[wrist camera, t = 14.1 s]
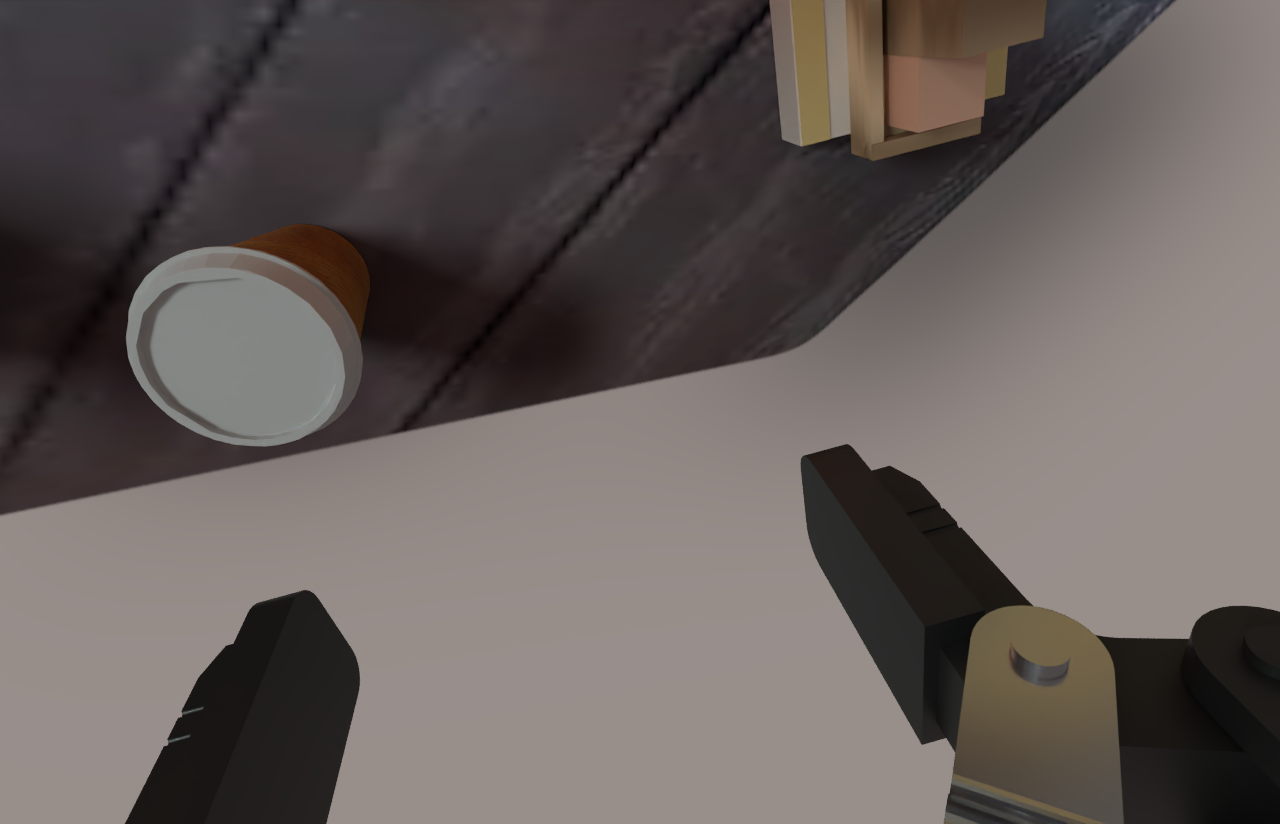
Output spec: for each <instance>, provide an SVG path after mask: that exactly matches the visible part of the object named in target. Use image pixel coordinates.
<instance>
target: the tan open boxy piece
mask: <svg viewBox="0 0 1280 824" xmlns="http://www.w3.org/2000/svg"><path fill="white" fill-rule="evenodd" d="M845 4H846V29H847V54H848V79H849V104H850V129H851V153H852V154H855V155H858V156H860V157H863V158H866V159H869V160H872V161H875V160H879V159H883V158H887V157H891V156H895V155H899V154H903V153H906V152H910V151H914V150H918V149H922V148H926V147H930V146H933V145H937V144H941V143H945V142H949V141H953V140H957V139H961V138H964V137H968V136H972V135H976V134H980V133H981V117H978V118H974V119H970V120H966V121H962V122H958V123H955V124H951V125H947V126H943V127H939V128H935V129H931V130H927V131H923V132H920V133H917V132H913V131H908V130H904V129H900V128H896V127H891V126H887V125H885V69H884V55H898V56H921V57H944V58H965V57H969V56H973V55H977V54H981V53H985V52H989V51H993V50H997V49H1001V48H1004V47H1008V46H1012V45H1016V44H1020V43H1024V42H1028V41H1032V40H1036V39H1040V38H1043V35H1044V25H1045V15H1046V4H1047V0H845Z"/></svg>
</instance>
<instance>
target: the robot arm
mask: <svg viewBox="0 0 1280 824" xmlns="http://www.w3.org/2000/svg"><path fill="white" fill-rule="evenodd" d="M801 474H802V484H803V494H804V503H805V512H806V522H807V530H808V535H809V539H810V542H811V545H812V549H813V552H814V554H815V557H816V559H817V561H818V563H819V565H820V567H821V569H822V570H823V572H824V574H825V576H826V577H827V579H828V580H829V583H830V584H831V586H832V588H833V589H834V591H835V593H836V595H837V597H838V599H839V600H840V602H841V604H842V606H843V607H844V609H845V611H846V613H847V614H848V616H849V618H850V620H851V621H852V623H853V625H854V627H855V628H856V630H857V632H858V634H859V635H860V637H861V639H862V640H863V642H864V644H865V646H866V647H867V649H868V651H869V653H870V655H871V656H872V658H873V660H874V662H875V663H876V665H877V667H878V669H879V670H880V672H881V674H882V676H883V677H884V679H885V681H886V683H887V684H888V686H889V688H890V690H891V691H892V693H893V695H894V697H895V698H896V700H897V702H898V704H899V705H900V707H901V709H902V711H903V712H904V714H905V716H906V718H907V719H908V721H909V723H910V725H911V726H912V728H913V730H914V732H915V733H916V735H917V737H918V739H919V741H920V742H921V744H922V745H923V744H926V743H930V742H934V741H937V740H940V739H944V738H947V740H948V741H949V743H950V745H951V746H952V748H953V749H954V751H955V760H954V767H953V775H952V783H951V789H950V793H949V795H948V799H947V805H946V811H945V818H944V824H1280V612H1278V611H1275V610H1271V609H1265V608H1260V607H1251V606H1229V607H1222V608H1218V609H1215V610H1212V611H1209V612H1208V613H1206V614H1204V615H1202V616H1201V617H1200V618H1199V619H1198V620H1197V621H1196V623H1195V625H1194V627H1193V629H1192V632H1191V636H1190V638H1189V639H1149V638H1147V639H1145V638H1143V639H1142V638H1111V637H1103V636H1097V635H1094V634H1093V633H1092V632H1091V631H1090V630H1089V629H1087V628H1086V627H1085V626H1083V625H1082V624H1080V623H1079V622H1077V621H1075V620H1074V619H1071V618H1070V617H1068V616H1065V615H1063V614H1061V613H1058V612H1055V611H1053V610H1049V609H1045V608H1041V607H1034V606H1033V605H1032V604H1031V603H1030V602H1029V601H1028V600H1026V598H1025V597H1024V596H1023V595H1022V594H1021V593H1020V592H1019V591H1018V590H1017V588H1016V587H1015V586H1014V585H1013V584H1012V583H1011V582H1010V581H1009V580H1008V578H1007V577H1006V576H1005V575H1004V574H1003V573H1002V572H1001V571H1000V570H999V569H998V567H997V566H996V565H995V564H994V563H993V562H992V561H991V560H990V559H989V558H988V556H987V555H986V554H985V553H984V552H983V551H982V550H981V549H980V548H979V546H978V545H977V544H976V543H975V542H974V541H973V540H972V539H971V538H970V536H969V535H968V534H967V533H966V532H965V531H964V530H963V529H962V528H959V527H958V526H957V522H956V521H955V520H954V519H953V518H952V517H951V515H950V514H949V513H948V512H947V511H946V510H945V509H944V508H943V509H942V508H941V506H940V503H939V502H938V501H937V500H936V499H935V498H934V497H933V496H932V495H931V493H930V492H929V491H928V490H927V489H926V488H925V487H924V486H923V485H922V483H921V482H920V481H918V480H916V479H914V478H912V477H910V476H908V475H906V474H904V473H902V472H901V471H899V470H897V469H895V468H893V467H891V466H887V467H883V468H880V469H877V470H873V471H871V470H870V468H869V467H868V466H867V465H866V463H865V462H864V461H863V460H862V459H861V457H860V456H859V455H858V454H857V452H856V451H855V450H854V449H853V448H852V447H851V446H850V445H848V444H845V445H842V446H838V447H834V448H831V449H827V450H823V451H820V452H816V453H812V454H808V455H805V456H803V457H802V458H801ZM359 686H360V674H359V667H358V662H357V659H356V656H355V654H354V652H353V650H352V649H351V647H350V646H349V644H348V643H347V641H346V640H345V638H344V637H343V635H342V634H341V632H340V631H339V629H338V628H337V626H336V625H335V623H334V622H333V620H332V619H331V617H330V616H329V614H328V613H327V611H326V610H325V608H324V607H323V605H322V604H321V602H320V601H319V599H318V598H317V596H316V595H315V594H314V593H312V592H310V591H307V590H303V591H300V592H296V593H292V594H289V595H285V596H281V597H278V598H274V599H270V600H267V601H263V602H259V603H257V604H255V605H254V606H253V607H252V608H251V609H250V610H249V612H248V614H247V616H246V618H245V621H244V622H243V625H242V627H241V629H240V631H239V633H238V635H237V638H236V640H235V642H234V644H231V645H228V646H225V648H224V649H223V650H222V651H221V652H220V653H219V655H218V656H217V657H216V658H215V659H214V660H213V661H212V663H211V664H210V665H209V666H208V667H207V669H206V670H205V671H204V672H203V673H202V674H201V675H200V677H199V678H198V680H197V681H196V684H195V686H194V688H193V689H192V691H191V694H190V695H189V698H188V700H187V701H186V703H185V706H184V707H183V709H182V714H183V715H182V717H180V718H178V719H177V721H176V723H175V725H174V727H173V729H172V731H171V733H170V735H169V737H168V746H164V747H163V749H162V751H161V753H160V755H159V757H158V759H157V761H156V763H155V765H154V767H153V769H152V771H151V773H150V775H149V777H148V779H147V781H146V783H145V785H144V787H143V789H142V791H141V793H140V795H139V797H138V799H137V801H136V803H135V805H134V807H133V809H132V811H131V813H130V815H129V817H128V819H127V821H126V823H125V824H326V822H327V818H328V814H329V810H330V806H331V802H332V798H333V794H334V790H335V786H336V781H337V778H338V774H339V770H340V766H341V762H342V757H343V754H344V749H345V745H346V741H347V737H348V733H349V729H350V725H351V721H352V717H353V713H354V708H355V705H356V701H357V697H358V692H359Z"/></svg>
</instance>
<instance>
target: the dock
mask: <svg viewBox="0 0 1280 824" xmlns="http://www.w3.org/2000/svg"><path fill="white" fill-rule="evenodd" d="M769 2H770V13H771V24H772V35H773V46H774V56H775V67H776V78H777V89H778V100H779V111H780V122H781V133H782V139H783V140H785V141H788V142H790V143H793V144H796V145H798V146H806V145H810V144H814V143H818V142H822V141H825V140H829V139H831V138H835V137H839V136H843V135H847V134H851V129H850V104H849V79H848V54H847V29H846V4H845V0H769ZM1007 52H1008V47H1004V48H1001V49H997V50H993V51H989V52H987V68H986V85H985V99H989V98H993V97H997V96H1001V95H1004V94H1005V80H1006V66H1007Z"/></svg>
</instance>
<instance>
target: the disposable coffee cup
mask: <svg viewBox="0 0 1280 824" xmlns="http://www.w3.org/2000/svg"><path fill="white" fill-rule="evenodd" d="M369 293H370V277H369V273H368V269H367V266H366V264H365V262H364V260H363V258H362V257H361V255H360V254H359V252H358V251H357V250H356V249H355V248H354V246H353V245H352V244H351V243H349V242H348V241H347V240H345V239H344V238H343V237H341V236H340V235H339V234H337V233H335V232H333V231H331V230H329V229H326V228H323V227H320V226H315V225H307V224H294V225H290V226H286V227H283V228H280V229H278V230H275V231H272V232H269V233H266V234H263V235H260V236H257V237H254V238H252V239H249V240H246V241H243V242H240V243H237V244H234V245H231V246H218V247H206V248H200V249H194V250H189V251H186V252H184V253H181V254H179V255H176V256H174V257H172V258H170V259H168V260H167V261H165V262H163V263H162V264H160V265H159V266H157V267H156V268H155V269H154V270H153V271H152V272H150V273H149V274H148V275H147V276H146V277H145V278H144V280H143V281H142V283H141V284H140V286H139V287H138V289H137V290H136V292H135V294H134V297H133V300H132V303H131V306H130V309H129V315H128V327H127V334H126V343H127V351H128V358H129V361H130V364H131V366H132V369H133V372H134V374H135V376H136V378H137V380H138V381H139V383H140V385H141V386H142V388H143V389H144V390H145V392H146V393H147V394H148V395H149V397H150V398H151V399H152V400H153V402H154V403H155V404H156V405H158V406H159V407H160V408H161V409H162V410H163V411H164V412H165V413H166V414H167V415H169V416H170V417H172V418H173V419H174V420H176V421H177V422H179V423H180V424H182V425H184V426H185V427H187V428H189V429H191V430H193V431H194V432H196V433H199V434H201V435H204V436H206V437H209V438H211V439H214V440H218V441H222V442H226V443H230V444H234V445H246V446H272V445H279V444H284V443H288V442H291V441H295V440H298V439H300V438H302V437H304V436H307V435H309V434H311V433H313V432H316V431H318V430H320V429H322V428H325V427H326V426H327V425H329V424H330V423H332V422H333V421H335V420H336V419H337V418H338V417H339V416H340V415H341V414H342V413H343V412H344V411H345V410H346V409H347V408H348V406H349V404H350V403H351V401H352V400H353V398H354V397H355V394H356V392H357V389H358V386H359V384H360V381H361V373H362V362H363V355H362V349H361V342H360V339H361V333H362V328H363V323H364V317H365V312H366V307H367V302H368V297H369Z"/></svg>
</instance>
